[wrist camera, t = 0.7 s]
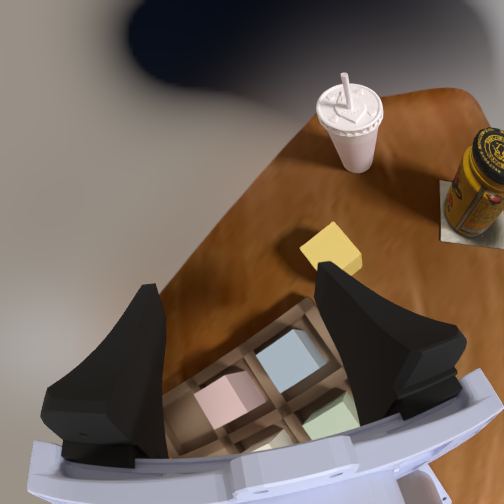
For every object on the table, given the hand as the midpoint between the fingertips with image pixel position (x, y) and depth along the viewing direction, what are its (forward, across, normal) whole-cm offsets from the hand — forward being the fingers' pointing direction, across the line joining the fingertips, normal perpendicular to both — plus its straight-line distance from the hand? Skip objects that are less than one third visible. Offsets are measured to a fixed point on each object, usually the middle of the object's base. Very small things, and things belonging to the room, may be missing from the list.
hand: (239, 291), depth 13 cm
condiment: (+10, -27, +3) cm, 29 cm away
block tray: (+4, -1, +22) cm, 22 cm away
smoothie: (+21, -16, +1) cm, 27 cm away
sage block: (+1, -8, +19) cm, 21 cm away
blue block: (+7, -6, +16) cm, 18 cm away
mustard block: (+13, -11, +10) cm, 20 cm away
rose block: (+6, 0, +20) cm, 21 cm away
